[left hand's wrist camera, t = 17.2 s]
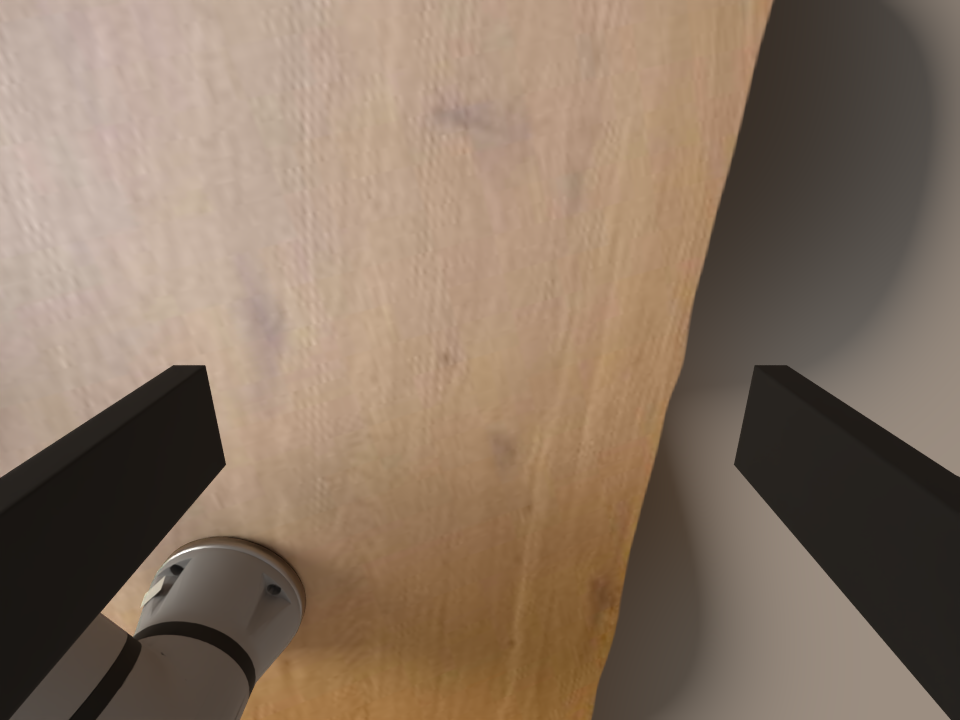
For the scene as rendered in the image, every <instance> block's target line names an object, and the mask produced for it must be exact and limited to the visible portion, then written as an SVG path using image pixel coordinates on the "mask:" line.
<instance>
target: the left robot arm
mask: <svg viewBox="0 0 960 720" xmlns="http://www.w3.org/2000/svg"><path fill="white" fill-rule="evenodd" d="M225 465H226V463H225V458H224V453H223V448H222V443H221V439H220V434H219V429H218V424H217V419H216V414H215V410H214V405H213V400H212V395H211V390H210V386H209V381H208V376H207V371H206V366H205V365H173V366H172V367H170V368H168V369H167V370H165V371H164V372H162V373H161V374H159V375H158V376H156V377H155V378H153V379H152V380H150V381H148V382H147V383H145V384H144V385H142V386H141V387H139V388H138V389H136V390H135V391H133V392H132V393H130V394H128V395H127V396H125V397H124V398H122V399H121V400H119V401H118V402H116V403H115V404H113V405H112V406H110V407H108V408H107V409H105V410H104V411H102V412H101V413H99V414H98V415H96V416H95V417H93V418H92V419H90V420H88V421H87V422H85V423H84V424H82V425H81V426H79V427H78V428H76V429H75V430H73V431H72V432H70V433H68V434H67V435H65V436H64V437H62V438H61V439H59V440H58V441H56V442H55V443H53V444H52V445H50V446H49V447H47V448H45V449H44V450H42V451H41V452H39V453H38V454H36V455H35V456H33V457H32V458H30V459H29V460H27V461H25V462H24V463H22V464H21V465H19V466H18V467H16V468H15V469H13V470H12V471H10V472H9V473H7V474H5V475H4V476H2V477H1V478H0V720H240V718H241V716H242V714H243V711H244V709H245V707H246V704H247V701H248V699H249V697H250V694H251V692H252V690H253V688H254V686H255V683H256V682H257V681H258V680H259V678H260V677H261V676H262V675H263V674H264V673H265V671H266V670H267V669H268V668H269V667H270V666H271V664H272V663H273V662H274V661H275V660H276V658H277V657H278V656H279V655H280V654H281V653H282V651H283V650H284V649H285V648H286V647H287V646H288V644H289V643H290V642H291V640H292V639H293V637H294V636H295V634H296V632H297V630H298V628H299V626H300V623H301V620H302V618H303V615H304V612H305V606H306V598H305V592H304V588H303V586H302V583H301V581H300V579H299V577H298V576H297V574H296V573H295V572H294V570H293V569H292V568H291V567H290V566H289V565H288V564H287V563H286V562H285V561H284V560H283V559H282V558H280V557H279V556H278V555H276V554H275V553H273V552H272V551H270V550H268V549H266V548H264V547H262V546H260V545H258V544H255V543H252V542H249V541H245V540H241V539H236V538H228V537H212V538H204V539H200V540H196V541H193V542H190V543H188V544H186V545H184V546H182V547H180V548H179V549H177V550H176V551H175V552H174V553H173V554H172V555H171V556H170V557H169V558H168V559H167V560H166V562H165V563H164V564H163V565H162V567H161V568H160V569H159V570H158V572H157V574H156V575H155V577H154V579H153V581H152V583H151V586H150V589H149V591H148V592H147V593H146V594H145V596H144V599H143V602H142V605H141V607H142V606H143V605H144V607H143V610H142V613H141V616H140V619H139V622H138V625H137V628H136V631H135V634H134V636H133V637H132V636H131V635H129V634H128V633H127V632H126V631H124V630H123V629H122V628H120V627H119V626H118V625H116V624H115V623H114V622H112V621H111V620H110V619H108V618H107V617H106V616H104V615H103V614H102V613H100V612H101V611H102V610H103V609H104V607H105V606H106V605H107V604H108V603H109V602H110V600H111V599H112V598H113V597H114V596H115V595H116V593H117V592H118V591H119V590H120V589H121V587H122V586H123V585H124V584H125V583H126V582H127V580H128V579H129V578H130V577H131V576H132V575H133V573H134V572H135V571H136V570H137V569H138V567H139V566H140V565H141V564H142V563H143V562H144V560H145V559H146V558H147V557H148V556H149V555H150V553H151V552H152V551H153V550H154V549H155V547H156V546H157V545H158V544H159V543H160V542H161V540H162V539H163V538H164V537H165V536H166V535H167V533H168V532H169V531H170V530H171V529H172V527H173V526H174V525H175V524H176V523H177V522H178V520H179V519H180V518H181V517H182V516H183V515H184V513H185V512H186V511H187V510H188V509H189V508H190V506H191V505H192V504H193V503H194V502H195V500H196V499H197V498H198V497H199V496H200V495H201V493H202V492H203V491H204V490H205V489H206V488H207V486H208V485H209V484H210V483H211V482H212V480H213V479H214V478H215V477H216V476H217V475H218V473H219V472H220V471H221V470H222V469H223V468H224V466H225ZM734 465H735V466H736V467H737V469H738V470H739V471H740V472H741V473H742V475H743V476H744V477H745V478H746V479H747V480H748V482H749V483H750V484H751V485H752V486H753V487H754V489H755V490H756V491H757V492H758V493H759V495H760V496H761V497H762V498H763V499H764V500H765V502H766V503H767V504H768V505H769V506H770V507H771V509H772V510H773V511H774V512H775V513H776V515H777V516H778V517H779V518H780V519H781V520H782V522H783V523H784V524H785V525H786V526H787V527H788V529H789V530H790V531H791V532H792V533H793V535H794V536H795V537H796V538H797V539H798V540H799V542H800V543H801V544H802V545H803V546H804V547H805V549H806V550H807V551H808V552H809V553H810V555H811V556H812V557H813V558H814V559H815V560H816V562H817V563H818V564H819V565H820V566H821V567H822V569H823V570H824V571H825V572H826V573H827V575H828V576H829V577H830V578H831V579H832V580H833V582H834V583H835V584H836V585H837V586H838V587H839V589H840V590H841V591H842V592H843V593H844V594H845V596H846V597H847V598H848V599H849V600H850V602H851V603H852V604H853V605H854V606H855V607H856V609H857V610H858V611H859V612H860V613H861V615H862V616H863V617H864V618H865V619H866V620H867V622H868V623H869V624H870V625H871V626H872V627H873V629H874V630H875V631H876V632H877V633H878V635H879V636H880V637H881V638H882V639H883V640H884V642H885V643H886V644H887V645H888V646H889V647H890V649H891V650H892V651H893V652H894V653H895V655H896V656H897V657H898V658H899V659H900V660H901V662H902V663H903V664H904V665H905V666H906V667H907V669H908V670H909V671H910V672H911V673H912V674H913V676H914V677H915V678H916V679H917V680H918V681H919V683H920V684H921V685H922V686H923V687H924V689H925V690H926V691H927V692H928V693H929V694H930V696H931V697H932V698H933V699H934V700H935V702H936V703H937V704H938V705H939V706H940V707H941V709H942V710H943V711H944V712H945V713H946V714H947V716H948V717H949V718H950V719H951V720H960V477H958V476H956V475H954V474H953V473H951V472H950V471H948V470H947V469H945V468H944V467H942V466H941V465H939V464H938V463H936V462H934V461H933V460H931V459H930V458H928V457H927V456H925V455H924V454H922V453H921V452H919V451H918V450H916V449H915V448H913V447H911V446H910V445H908V444H907V443H905V442H904V441H902V440H901V439H899V438H898V437H896V436H895V435H893V434H892V433H890V432H888V431H887V430H885V429H884V428H882V427H881V426H879V425H878V424H876V423H875V422H873V421H871V420H870V419H868V418H867V417H865V416H864V415H862V414H861V413H859V412H858V411H856V410H855V409H853V408H852V407H850V406H848V405H847V404H845V403H844V402H842V401H841V400H839V399H838V398H836V397H835V396H833V395H832V394H830V393H828V392H827V391H825V390H824V389H822V388H821V387H819V386H818V385H816V384H815V383H813V382H812V381H810V380H808V379H807V378H805V377H804V376H802V375H801V374H799V373H798V372H796V371H795V370H793V369H792V368H790V367H788V366H787V365H755V366H754V371H753V376H752V381H751V386H750V390H749V395H748V400H747V405H746V410H745V414H744V419H743V424H742V429H741V434H740V439H739V443H738V448H737V453H736V458H735V463H734ZM141 607H140V608H141Z"/></svg>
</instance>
